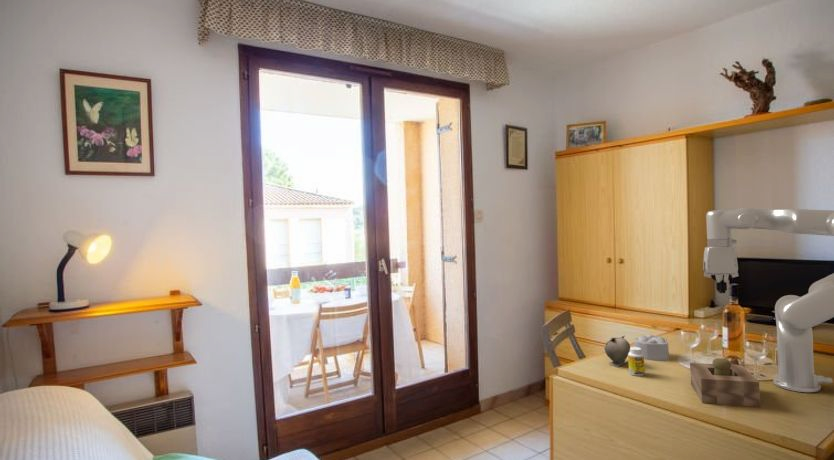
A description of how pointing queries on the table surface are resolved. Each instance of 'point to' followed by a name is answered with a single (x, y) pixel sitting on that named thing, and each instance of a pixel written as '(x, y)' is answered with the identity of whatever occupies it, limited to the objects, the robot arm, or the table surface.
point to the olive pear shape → (721, 367)
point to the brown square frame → (725, 385)
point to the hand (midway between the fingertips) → (721, 292)
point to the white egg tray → (653, 347)
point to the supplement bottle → (636, 361)
